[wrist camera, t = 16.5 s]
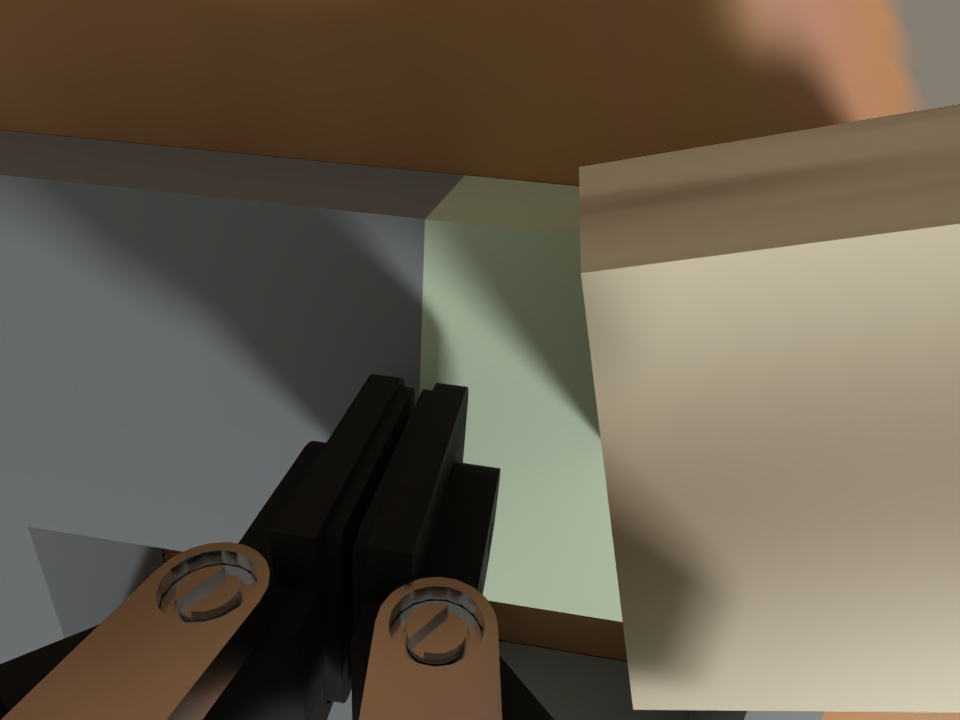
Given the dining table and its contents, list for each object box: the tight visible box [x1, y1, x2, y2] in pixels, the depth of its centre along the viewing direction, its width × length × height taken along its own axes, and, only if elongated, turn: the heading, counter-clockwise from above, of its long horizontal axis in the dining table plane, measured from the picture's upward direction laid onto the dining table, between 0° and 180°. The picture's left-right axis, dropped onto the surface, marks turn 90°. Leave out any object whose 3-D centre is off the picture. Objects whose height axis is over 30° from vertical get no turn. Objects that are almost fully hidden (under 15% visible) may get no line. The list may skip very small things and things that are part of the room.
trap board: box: [0, 130, 824, 720], centre depth 15 cm, size 15×28×4 cm, turn 86°
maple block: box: [579, 104, 960, 713], centre depth 8 cm, size 5×5×5 cm
